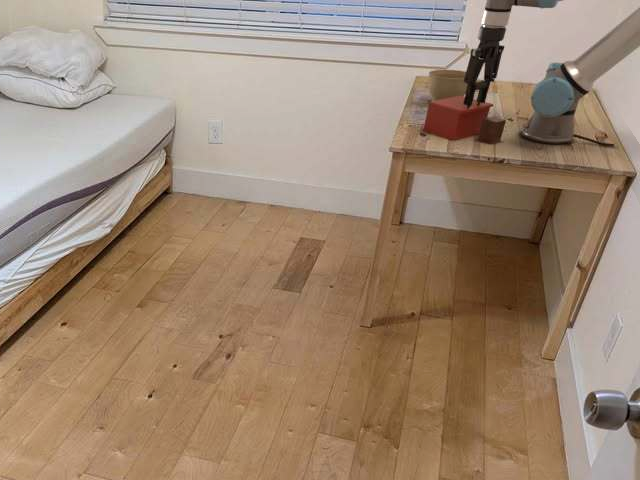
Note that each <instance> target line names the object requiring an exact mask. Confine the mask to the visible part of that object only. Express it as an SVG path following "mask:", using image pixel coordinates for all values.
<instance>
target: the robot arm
mask: <svg viewBox="0 0 640 480" xmlns="http://www.w3.org/2000/svg"><path fill="white" fill-rule="evenodd" d="M562 1H563V0H486V2H485V7H484V10H483V15H482V19H481V25H480V27H479V30H478V35H477V39H478V40H479V43H478V46H477V47H476V48H471V50H470V56H469V60H468V63H467V67H466V69H465V70H466V71H465V72H466V74H465V78H464V82H465V83H467V84H468V85H467V89H466V94H465V95H464V97H465V99H464V103H463V104H464V105H468V106H472V102H473V99H474V98H475V94H476V91H477V90H476V86H477V85H476V84H475V83H476V82H478V81H477V80H478V79H479V76H480V74H481V72H482V68H483V67H484V71H483V81H487V83H488V85H487V87H486V88H484V91H483V94H482V98H481V102H480V103H485V102H486V100H487V96H488V92H489V90H490V85H491V83H494V82H495V81H496V79H497V76H498V73H499V69H500V65H501V60H502V56H503V55H502V54H503V52H504V50H505V45H501V44H500V42H502V41H504V39H505V35H506V31H507V28H506V27H507V26H508V24H509V20H510V17H511V16H510V15H511V13H512V8H513V6H515V7H527V8H537V9H538V8H539V9H553V8H555V7H556V6H557V5H558V3H559V2H562ZM638 48H640V6H639V7H638V8H637V9H635V10H634V11H633V12H632V13H631V14H629V15H628V16H627V17H626V18H625V19H623V20H622V21H621V22H620V23H618V24H617V25H616V26H615V27H614V28H612V29H611V30H610V31H608V32H607V33H606V34H605V35H604V36H602V37H601V38H600V39H599V40H598V41H596V42H595V43H594V44H593V45H591V46H590V47H589V48H588V49H587V50H585V51H584V52H583V53H582V54H581V55H579V56H578V57H576V59H574V60H565V61H564V62H551V63H549V65H548V67H547V69H546V72H545V76H544V78H543V79H542V80H540V81H539V82H538V83H537V84H536V85H535V87H534V88H533V90H532V93H531V97H530V103H531V107H532V109H533V110H534V112H533V114H532V115H531V116H530V118H529V119H528V121H527V122H526V123H525V122H524V123H523V125H522V128H523V129H522V131H521V136H522V137H523V138H525V139H527V140H530V141H533V142H538V143H542V144H551V145H561V144H563V145H564V144H568V143H571V142H573V138H577V139H580V140H583V141H587V142H590V143H593V144H595V145H598V146H599V145H600V146H605V147H612V148H613V147H615V143H609V142H602V141H598V140H595V139H593V138H589V137H586V136H582V135H578V134H575V114H576V111H577V108H578V105H579V102H580V100H581V99H583V98H584V97H585V96H586V95H587V94H589V93H590V92H591V91H592V90H593V85H594V83H595V82H596V81H598V79H600V78H601V77H602V76H604V75H605V74H606V73H608V72H609V71H610V70H611V69H613V68H614V67H615V66H616V65H618V64H619V63H620V62H622V61H623V60H624V59H626V58H627V57H628V56H629V55H631V54H632V53H633V52H634V51H635V50H637V49H638ZM480 90H481V89H479V90H478V94H477V98H476V100H477V102H478V98H479V94H480Z"/></svg>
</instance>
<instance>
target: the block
mask: <svg viewBox="0 0 640 480" xmlns="http://www.w3.org/2000/svg"><path fill="white" fill-rule="evenodd" d="M506 122H507V119H506V118H505V119H504V118H501V117H497V116H493V115H492V116H488V117H487V118H484V119H483V121H482V125H481V129H480V132H479V134H478V137H477V141H478V142H482V143H486V144H489V145H492V144H496V143H500V142H501V140H502V136H503V133H504V129H505V125H506Z"/></svg>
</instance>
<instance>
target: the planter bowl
mask: <svg viewBox="0 0 640 480" xmlns="http://www.w3.org/2000/svg"><path fill="white" fill-rule="evenodd" d="M465 74H466V71H464V70H460V69H459V70H458V69H434V70H433V69H432V70H430V71H429V72H428V80H427V87H428V93H429V95H430V98H431V101H436V100H441V99H446V98H450V97H454V96H463V97H465V94H466V89H467V85H468V84H467V83H465V82H464V78H465Z"/></svg>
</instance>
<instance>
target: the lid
mask: <svg viewBox="0 0 640 480" xmlns="http://www.w3.org/2000/svg"><path fill="white" fill-rule="evenodd" d="M475 84H476V85H477V86H476V90H475V91H479V89H481V90H480V94H479V98H478V102H477V99H474V98H473V102H472V106H468V105H464V104H463V103H464V99H465V96H464V97H463V96H456V97H451V98H446V99H441V100H436V101H432V100H431V101H429V102H428V105H429V104H430V105H433V106H437V107H441V108H444V109H448V110H452V111H455V112H459V113H466V112H471V111H475V110H480V109H484V108H489V107H490V108H492V107H494V104H493V103H492V102H491V103H490V102H487V101H485V103H480V102H481V98H482V94H483V91H484V88H486V87H487V85H488V83H487V81H485V80H481V81H476V83H475Z"/></svg>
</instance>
